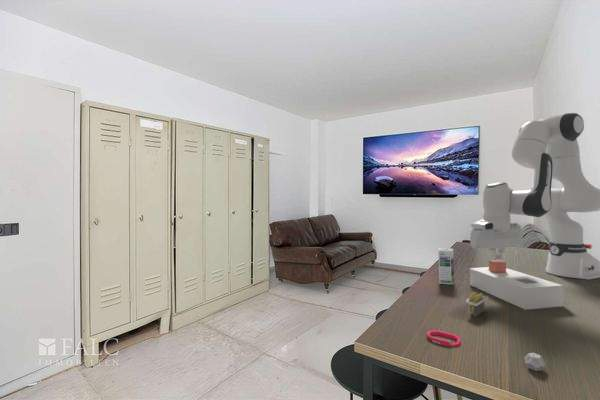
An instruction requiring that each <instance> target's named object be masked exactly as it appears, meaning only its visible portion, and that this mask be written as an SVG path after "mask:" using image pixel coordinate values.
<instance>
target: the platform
mask: <svg viewBox="0 0 600 400" xmlns="http://www.w3.org/2000/svg"><path fill="white" fill-rule="evenodd" d="M487 300H489V296H488V295H483V292H480V293H479V294H477V291H475V292H473V293H471V294H470V295H469V296H468V298H466V299H465V303H466V304H468V305H469V306H470V307H469V310H470V313H469V314H470V315H471V316H473V317H474V318H476V317H478V316H479V315H481V313H483V312H484V311H485V310H486V309H485V301H487Z"/></svg>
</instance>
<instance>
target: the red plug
mask: <svg viewBox="0 0 600 400" xmlns="http://www.w3.org/2000/svg"><path fill="white" fill-rule="evenodd" d="M488 267H489V271H491V272H494V273H506V268H507V261H504V260H501V259H490V260H488Z"/></svg>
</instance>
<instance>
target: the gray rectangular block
mask: <svg viewBox="0 0 600 400" xmlns="http://www.w3.org/2000/svg"><path fill="white" fill-rule="evenodd" d="M517 281H520V282H523V283H526V284H528V283H537V282H534V281H531V280H528V279H521V280H517Z"/></svg>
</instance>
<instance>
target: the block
mask: <svg viewBox="0 0 600 400" xmlns="http://www.w3.org/2000/svg"><path fill="white" fill-rule="evenodd" d="M521 279H528V280H531V281H534V282H537V283H528V284H526V283H523V282H520V281H517V280H521ZM469 286H471V287H473V288H475V287H476V289H478V290H480V291H482V292H484V291H485V293H486V294H489V295H492V296H494V297H496V298H498V299H499V300H503V301H505V302H507V303H510V304H512V305H514V306H515V307H519V308H521V309H523V310H527V311H528V310H537V309H546V308H547V309H549V308H557V307H558V308H559V307H564V285H562V284H560V283H556V282H553V281H549V280H548V279H547V280H546V279H543V278H540V277H536V276H534V275H531V274H527V273H523V272H520V271H518V270H514V269H511V268H507V267H506V273H494V272H491V271H489V266H487V267H486V266H485V267H481V266H480V267H470V268H469Z"/></svg>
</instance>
